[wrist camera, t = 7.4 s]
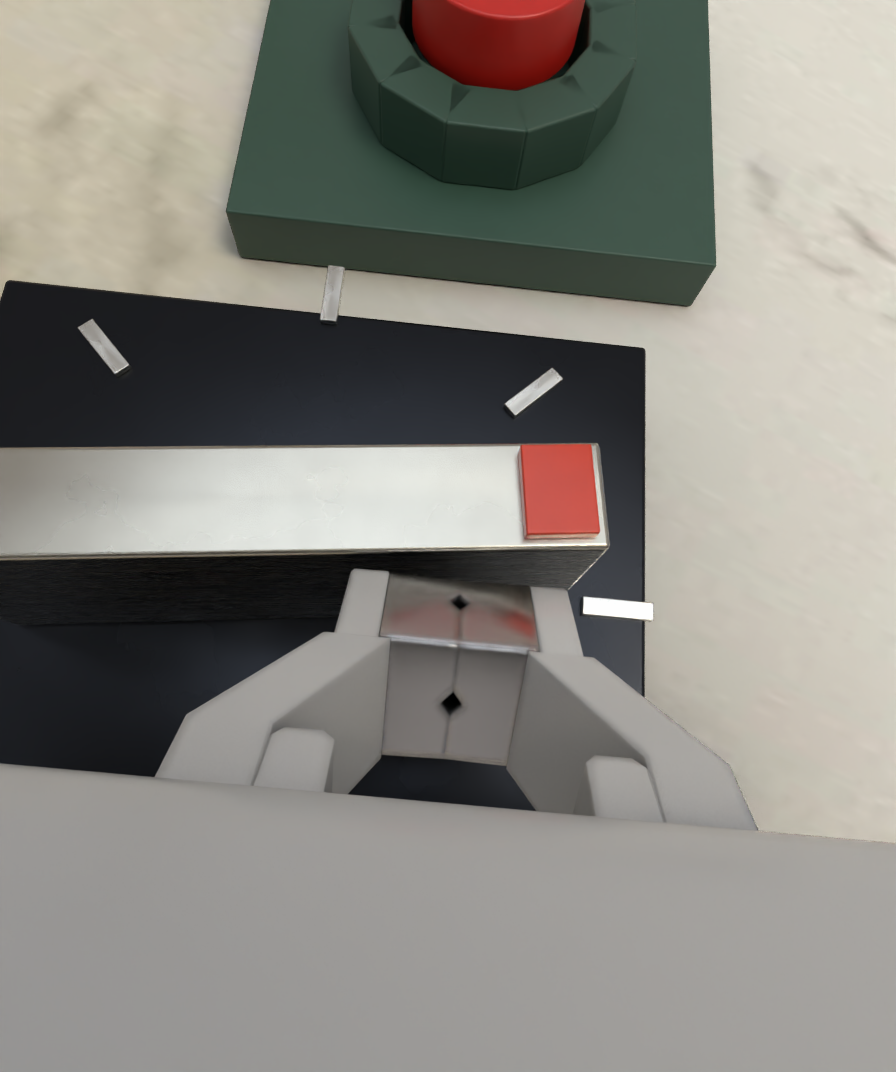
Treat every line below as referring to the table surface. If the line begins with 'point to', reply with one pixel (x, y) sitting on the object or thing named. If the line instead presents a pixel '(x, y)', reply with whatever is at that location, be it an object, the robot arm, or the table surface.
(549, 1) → the button
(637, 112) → the button box
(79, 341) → the control panel
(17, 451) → the knob
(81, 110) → the table surface
